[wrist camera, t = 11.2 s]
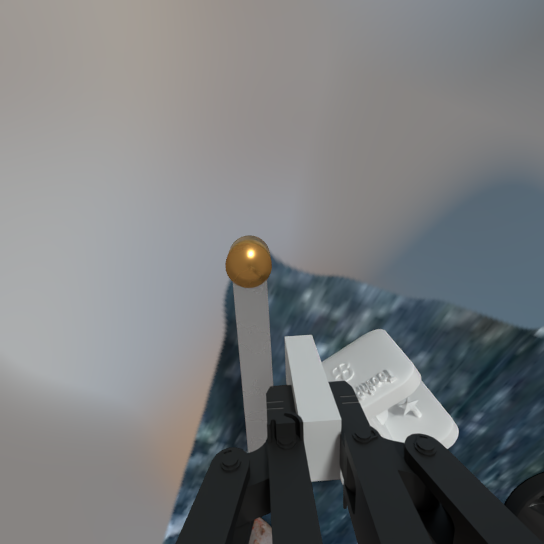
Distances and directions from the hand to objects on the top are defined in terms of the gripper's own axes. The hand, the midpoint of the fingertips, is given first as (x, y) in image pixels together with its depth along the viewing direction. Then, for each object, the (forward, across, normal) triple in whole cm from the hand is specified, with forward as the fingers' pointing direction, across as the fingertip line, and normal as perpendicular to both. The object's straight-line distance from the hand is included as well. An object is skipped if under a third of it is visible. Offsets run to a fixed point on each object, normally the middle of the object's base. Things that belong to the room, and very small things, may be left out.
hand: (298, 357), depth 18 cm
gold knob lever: (+9, -3, -6) cm, 11 cm away
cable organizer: (+23, +9, -17) cm, 30 cm away
